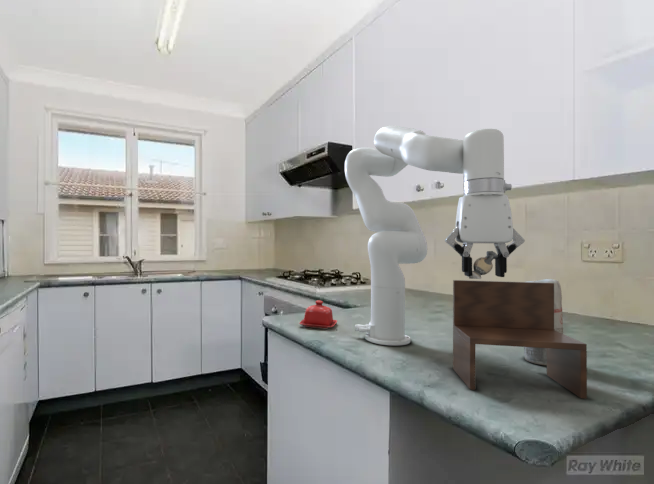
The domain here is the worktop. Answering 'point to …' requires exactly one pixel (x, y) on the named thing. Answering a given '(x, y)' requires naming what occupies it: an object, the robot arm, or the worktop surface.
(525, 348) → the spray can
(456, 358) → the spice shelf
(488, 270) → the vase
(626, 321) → the worktop surface
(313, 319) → the butter dish
